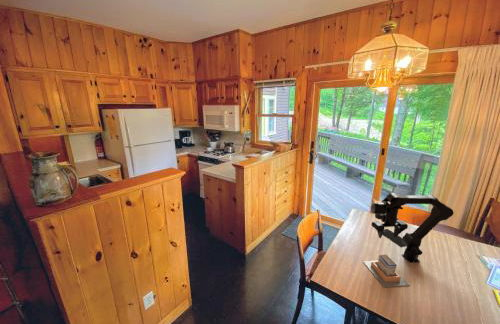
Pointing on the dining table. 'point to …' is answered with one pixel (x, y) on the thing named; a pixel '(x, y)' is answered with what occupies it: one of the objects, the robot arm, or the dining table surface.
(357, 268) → the dining table surface
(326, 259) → the dining table surface
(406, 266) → the dining table surface
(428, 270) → the dining table surface
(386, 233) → the cell phone
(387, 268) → the medicine box
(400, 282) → the end holder
